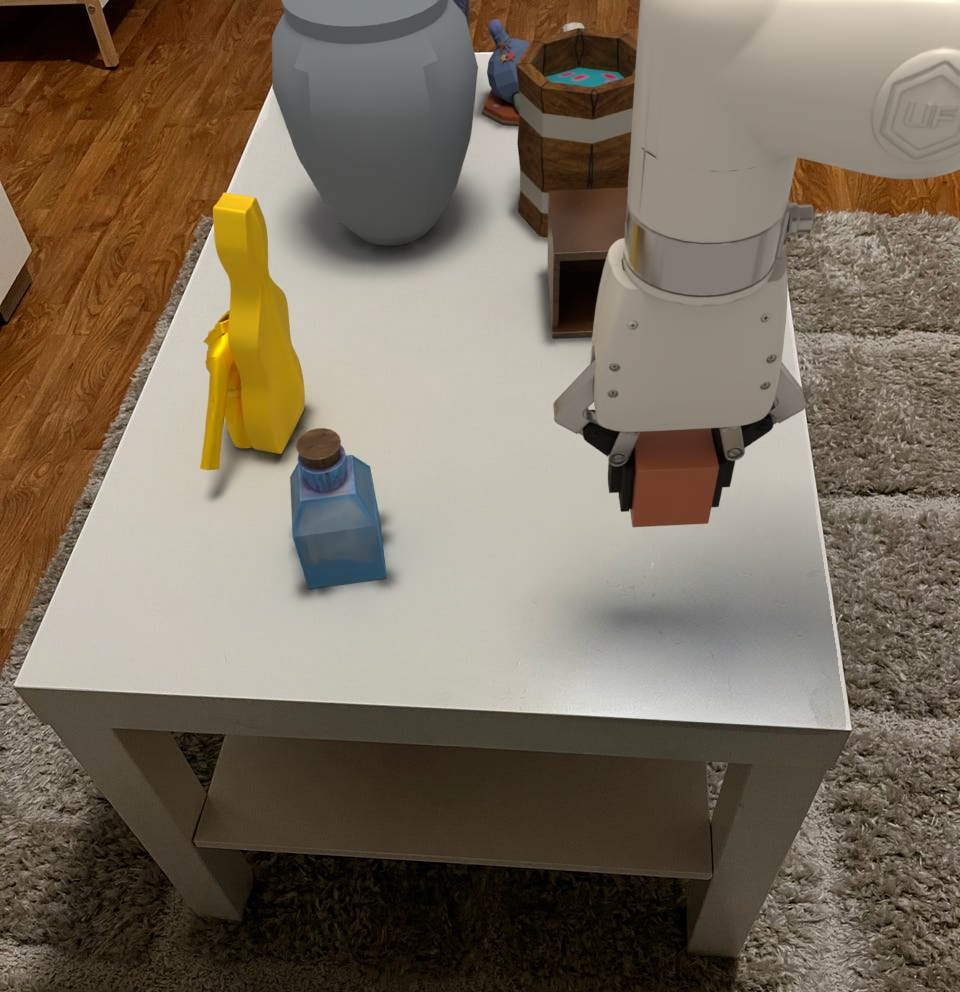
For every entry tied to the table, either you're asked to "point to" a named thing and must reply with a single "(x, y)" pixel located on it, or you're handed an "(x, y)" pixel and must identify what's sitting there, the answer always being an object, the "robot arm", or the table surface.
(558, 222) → the cabinet
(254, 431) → the figure statuette
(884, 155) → the robot arm
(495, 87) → the model
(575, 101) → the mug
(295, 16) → the vase
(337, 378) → the table surface
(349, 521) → the perfume bottle
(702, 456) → the block
